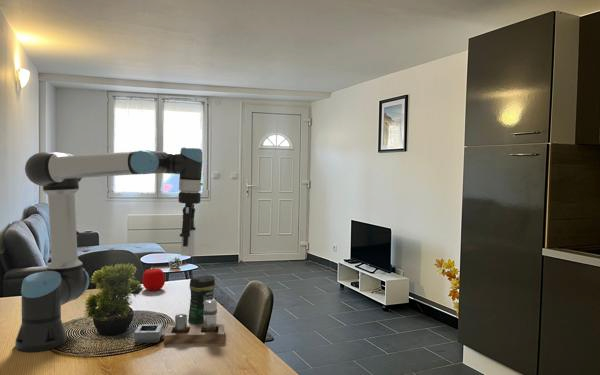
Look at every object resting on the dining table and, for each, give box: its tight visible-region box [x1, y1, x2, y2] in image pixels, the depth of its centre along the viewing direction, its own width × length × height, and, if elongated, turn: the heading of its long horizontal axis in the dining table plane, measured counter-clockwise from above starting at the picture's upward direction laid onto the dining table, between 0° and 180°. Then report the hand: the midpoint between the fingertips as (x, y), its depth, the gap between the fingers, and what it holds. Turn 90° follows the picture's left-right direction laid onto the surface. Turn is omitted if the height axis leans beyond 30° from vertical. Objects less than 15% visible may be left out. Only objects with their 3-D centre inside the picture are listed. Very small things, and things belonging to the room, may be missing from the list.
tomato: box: [141, 267, 166, 291], centre depth 231 cm, size 10×11×11 cm
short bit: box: [174, 313, 188, 333], centre depth 165 cm, size 4×4×8 cm
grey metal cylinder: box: [203, 299, 218, 332], centre depth 167 cm, size 5×5×13 cm
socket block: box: [133, 323, 163, 344], centre depth 165 cm, size 8×8×4 cm
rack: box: [163, 323, 225, 345], centre depth 166 cm, size 20×10×4 cm, turn 98°
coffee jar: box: [187, 274, 216, 325], centre depth 185 cm, size 10×8×19 cm
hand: (187, 251), depth 167 cm, fingers open, 13 cm apart
